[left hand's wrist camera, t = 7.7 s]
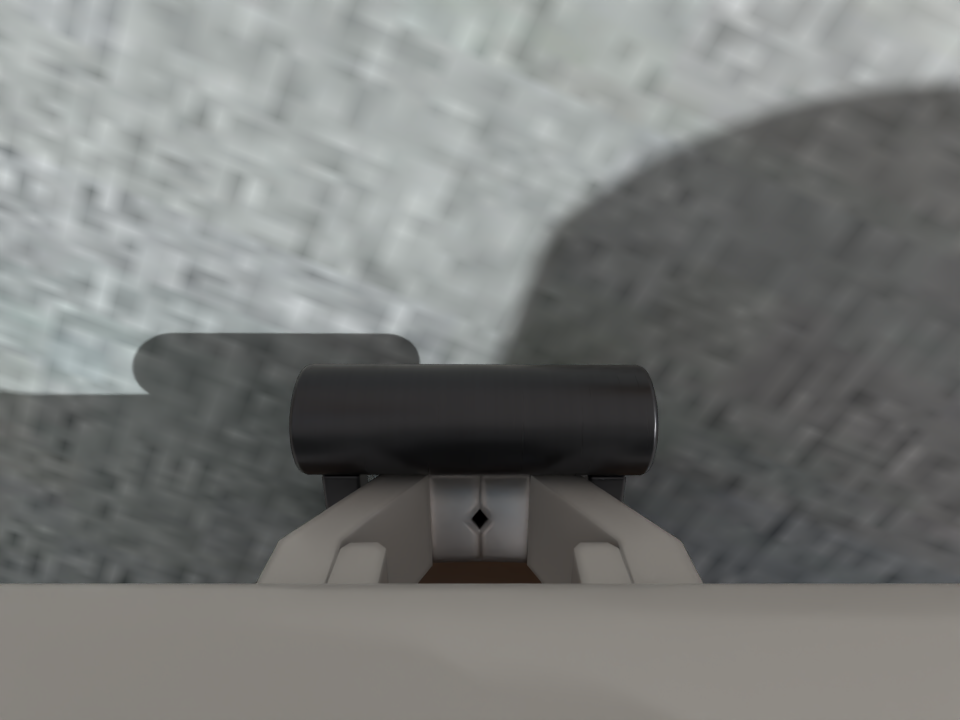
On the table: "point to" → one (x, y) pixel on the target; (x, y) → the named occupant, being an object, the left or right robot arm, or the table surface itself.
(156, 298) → the table surface
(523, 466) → the drawer
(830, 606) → the left robot arm
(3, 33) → the table surface
